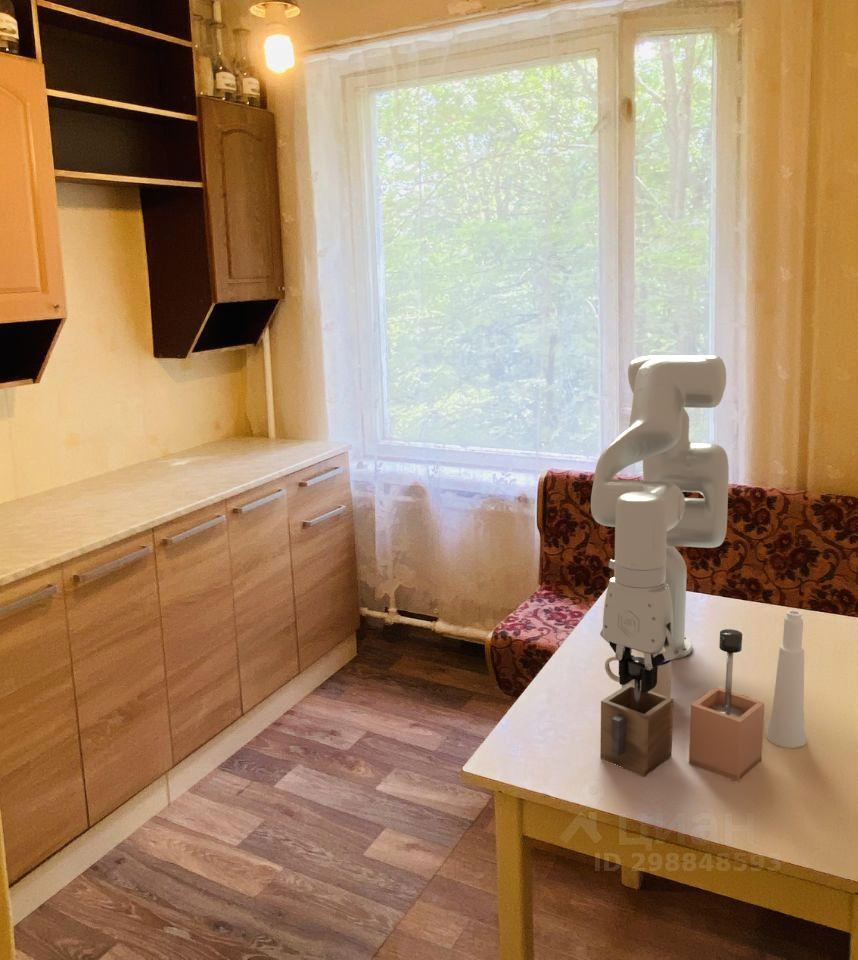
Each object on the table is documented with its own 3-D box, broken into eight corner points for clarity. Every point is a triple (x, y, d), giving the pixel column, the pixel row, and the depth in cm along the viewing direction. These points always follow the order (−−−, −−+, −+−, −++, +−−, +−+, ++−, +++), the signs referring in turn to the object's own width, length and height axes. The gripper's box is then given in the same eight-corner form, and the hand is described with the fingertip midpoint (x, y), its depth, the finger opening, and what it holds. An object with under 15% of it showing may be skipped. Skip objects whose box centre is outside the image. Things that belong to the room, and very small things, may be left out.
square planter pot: (688, 763, 138) (690, 704, 135) (719, 738, 144) (722, 682, 142) (737, 782, 132) (740, 722, 130) (767, 755, 139) (770, 698, 136)
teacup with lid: (675, 690, 161) (677, 630, 159) (667, 712, 153) (669, 650, 151) (609, 680, 166) (610, 622, 163) (599, 702, 158) (600, 641, 155)
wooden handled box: (671, 756, 140) (673, 698, 137) (637, 782, 133) (638, 722, 131) (628, 739, 145) (629, 683, 143) (593, 763, 138) (593, 705, 136)
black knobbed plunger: (701, 718, 136) (704, 634, 133) (718, 705, 140) (722, 623, 136) (735, 730, 132) (740, 644, 129) (752, 717, 136) (757, 632, 132)
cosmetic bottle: (807, 733, 145) (816, 608, 140) (804, 751, 140) (814, 622, 135) (768, 726, 147) (775, 603, 142) (764, 744, 142) (771, 616, 137)
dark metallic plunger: (611, 743, 139) (612, 661, 136) (630, 730, 143) (632, 650, 140) (642, 756, 135) (644, 672, 132) (661, 742, 139) (663, 660, 136)
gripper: (580, 569, 136) (579, 678, 140) (676, 593, 124) (672, 711, 129) (608, 557, 141) (606, 663, 145) (702, 579, 129) (697, 693, 134)
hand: (637, 684), depth 137 cm, fingers closed on dark metallic plunger, 3 cm apart
